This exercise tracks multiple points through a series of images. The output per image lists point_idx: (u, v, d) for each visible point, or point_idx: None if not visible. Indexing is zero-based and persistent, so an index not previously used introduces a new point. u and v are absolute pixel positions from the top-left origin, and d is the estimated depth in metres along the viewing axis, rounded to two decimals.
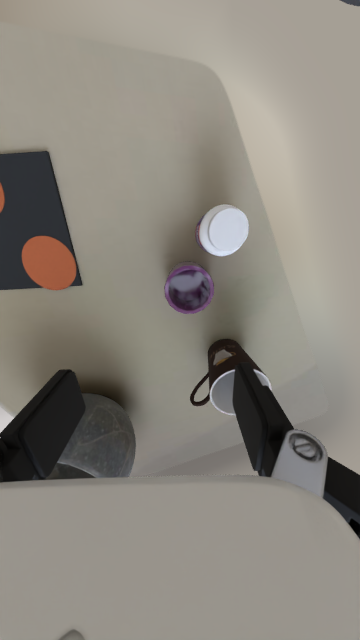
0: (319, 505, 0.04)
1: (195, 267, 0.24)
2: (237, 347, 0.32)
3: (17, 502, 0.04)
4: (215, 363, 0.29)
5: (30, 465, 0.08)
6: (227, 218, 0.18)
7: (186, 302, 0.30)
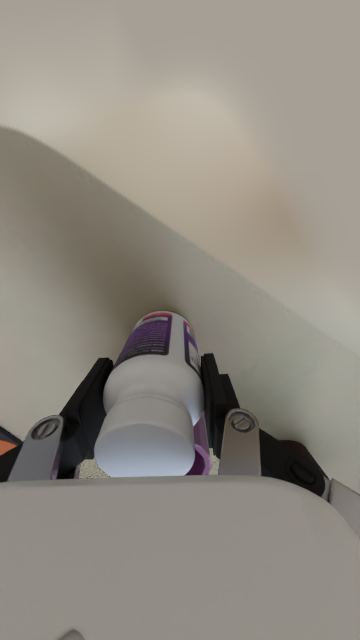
0: (319, 505, 0.04)
1: None
2: None
3: (17, 502, 0.04)
4: None
5: (86, 440, 0.08)
6: (123, 445, 0.07)
7: None
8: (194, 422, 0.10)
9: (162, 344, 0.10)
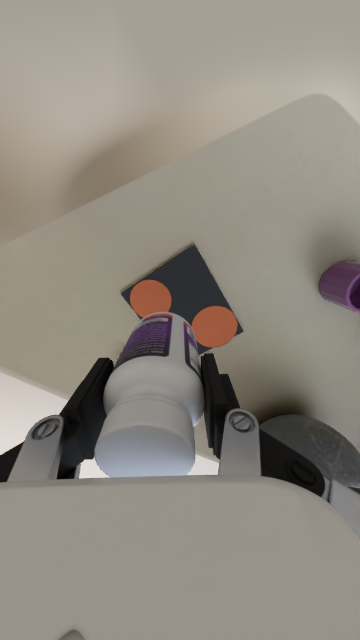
0: (319, 505, 0.04)
1: None
2: None
3: (17, 502, 0.04)
4: None
5: (86, 440, 0.08)
6: (123, 447, 0.07)
7: (350, 299, 0.30)
8: (194, 423, 0.10)
9: (163, 345, 0.10)
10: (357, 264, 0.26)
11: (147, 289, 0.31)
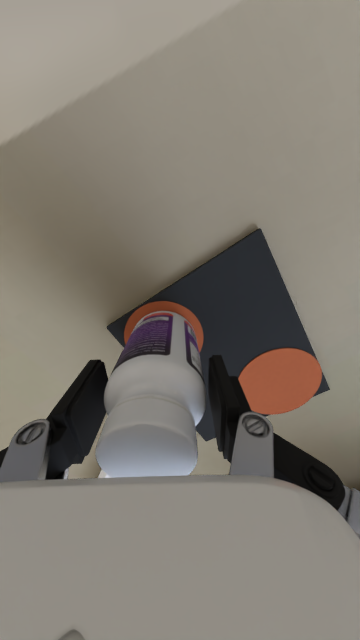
0: (319, 505, 0.04)
1: None
2: None
3: (17, 502, 0.04)
4: None
5: (73, 444, 0.08)
6: (125, 447, 0.07)
7: None
8: (195, 422, 0.10)
9: (164, 344, 0.10)
10: None
11: None
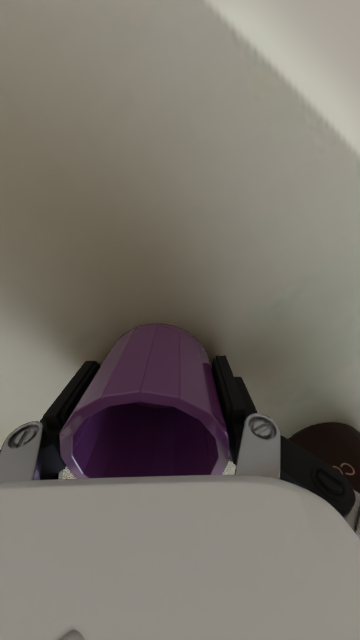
0: (319, 505, 0.04)
1: (113, 398, 0.06)
2: None
3: (17, 502, 0.04)
4: None
5: None
6: None
7: (178, 418, 0.12)
8: None
9: None
10: (120, 359, 0.08)
11: None
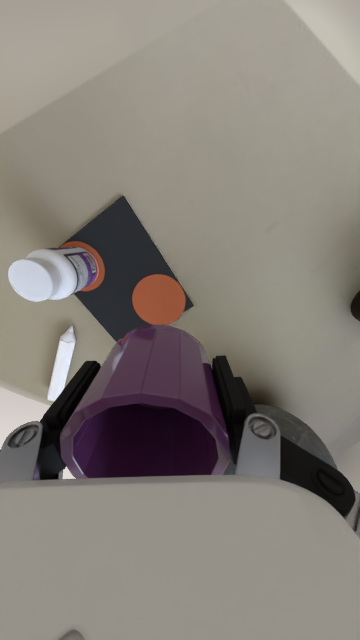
0: (319, 505, 0.04)
1: (113, 399, 0.06)
2: None
3: (17, 502, 0.04)
4: None
5: None
6: (19, 273, 0.17)
7: (178, 419, 0.12)
8: (67, 284, 0.20)
9: (55, 248, 0.21)
10: (120, 360, 0.08)
11: None
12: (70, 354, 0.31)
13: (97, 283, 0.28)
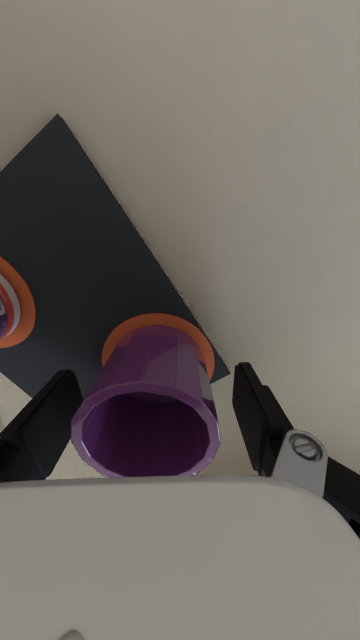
0: (319, 505, 0.04)
1: (118, 388, 0.07)
2: None
3: (17, 502, 0.04)
4: None
5: (30, 465, 0.08)
6: None
7: (175, 412, 0.13)
8: None
9: None
10: (123, 356, 0.09)
11: None
12: None
13: (23, 332, 0.13)
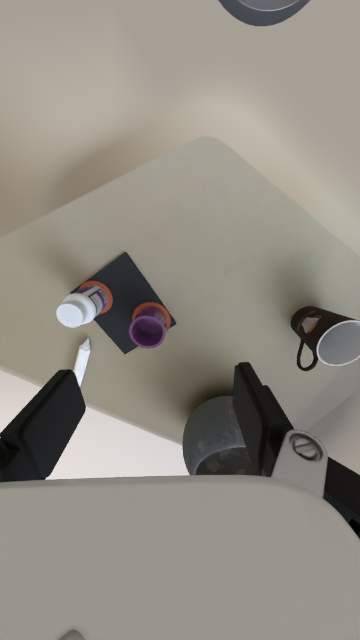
0: (319, 505, 0.04)
1: (141, 317, 0.33)
2: (317, 310, 0.36)
3: (17, 502, 0.04)
4: (307, 330, 0.34)
5: (30, 466, 0.08)
6: (63, 311, 0.28)
7: (157, 335, 0.39)
8: (90, 315, 0.31)
9: (82, 291, 0.32)
10: (141, 312, 0.35)
11: None
12: (87, 358, 0.42)
13: (107, 308, 0.39)
